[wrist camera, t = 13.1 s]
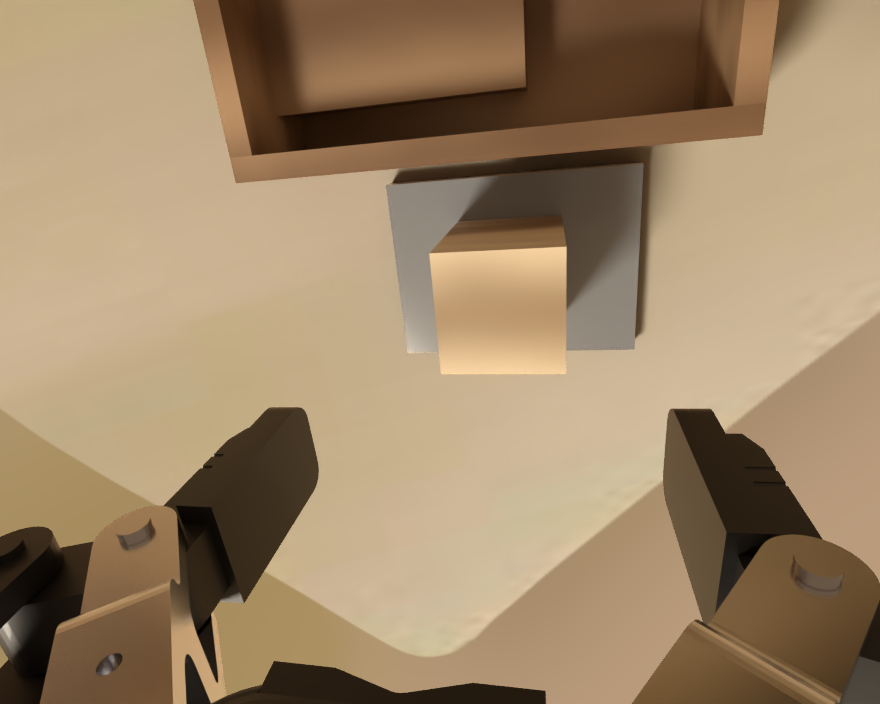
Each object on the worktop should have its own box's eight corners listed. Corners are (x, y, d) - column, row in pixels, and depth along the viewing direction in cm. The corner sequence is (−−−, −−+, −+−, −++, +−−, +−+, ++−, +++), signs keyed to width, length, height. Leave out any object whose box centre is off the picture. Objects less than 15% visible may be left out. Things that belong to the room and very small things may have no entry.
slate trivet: (391, 183, 27) (386, 185, 26) (640, 161, 24) (643, 163, 23) (412, 346, 30) (407, 352, 29) (631, 342, 28) (634, 349, 27)
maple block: (458, 221, 26) (429, 253, 20) (561, 215, 25) (566, 246, 19) (465, 317, 28) (440, 373, 22) (561, 314, 27) (566, 373, 21)
